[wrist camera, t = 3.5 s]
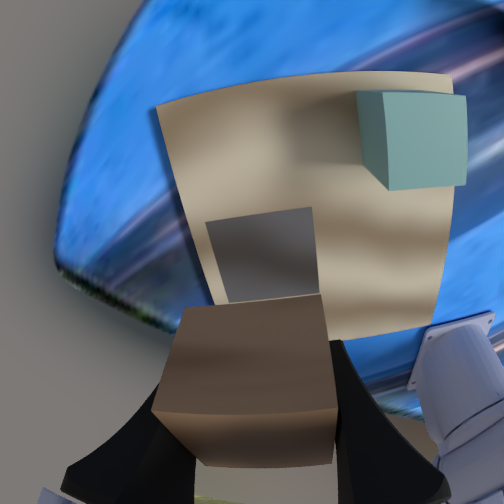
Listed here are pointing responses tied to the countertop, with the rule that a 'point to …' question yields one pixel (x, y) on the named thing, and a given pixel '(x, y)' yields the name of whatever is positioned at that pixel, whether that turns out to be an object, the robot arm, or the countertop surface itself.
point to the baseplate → (307, 201)
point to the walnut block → (252, 384)
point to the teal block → (413, 137)
